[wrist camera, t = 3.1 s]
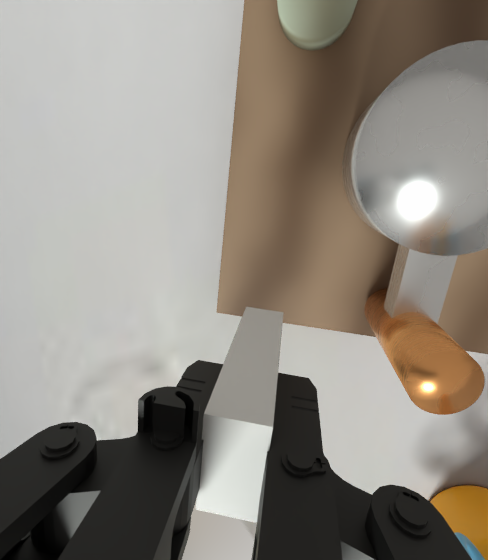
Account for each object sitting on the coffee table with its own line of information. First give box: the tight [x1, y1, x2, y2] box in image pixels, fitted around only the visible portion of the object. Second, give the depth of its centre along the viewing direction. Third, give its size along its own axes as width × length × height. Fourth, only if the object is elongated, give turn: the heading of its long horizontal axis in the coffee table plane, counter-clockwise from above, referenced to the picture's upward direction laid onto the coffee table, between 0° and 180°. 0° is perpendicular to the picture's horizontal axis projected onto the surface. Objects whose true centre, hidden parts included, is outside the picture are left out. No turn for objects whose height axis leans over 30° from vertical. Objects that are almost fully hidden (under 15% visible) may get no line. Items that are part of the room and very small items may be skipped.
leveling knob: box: [342, 40, 488, 415], centre depth 14 cm, size 13×8×8 cm, turn 174°
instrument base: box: [217, 0, 488, 354], centre depth 18 cm, size 20×20×4 cm
